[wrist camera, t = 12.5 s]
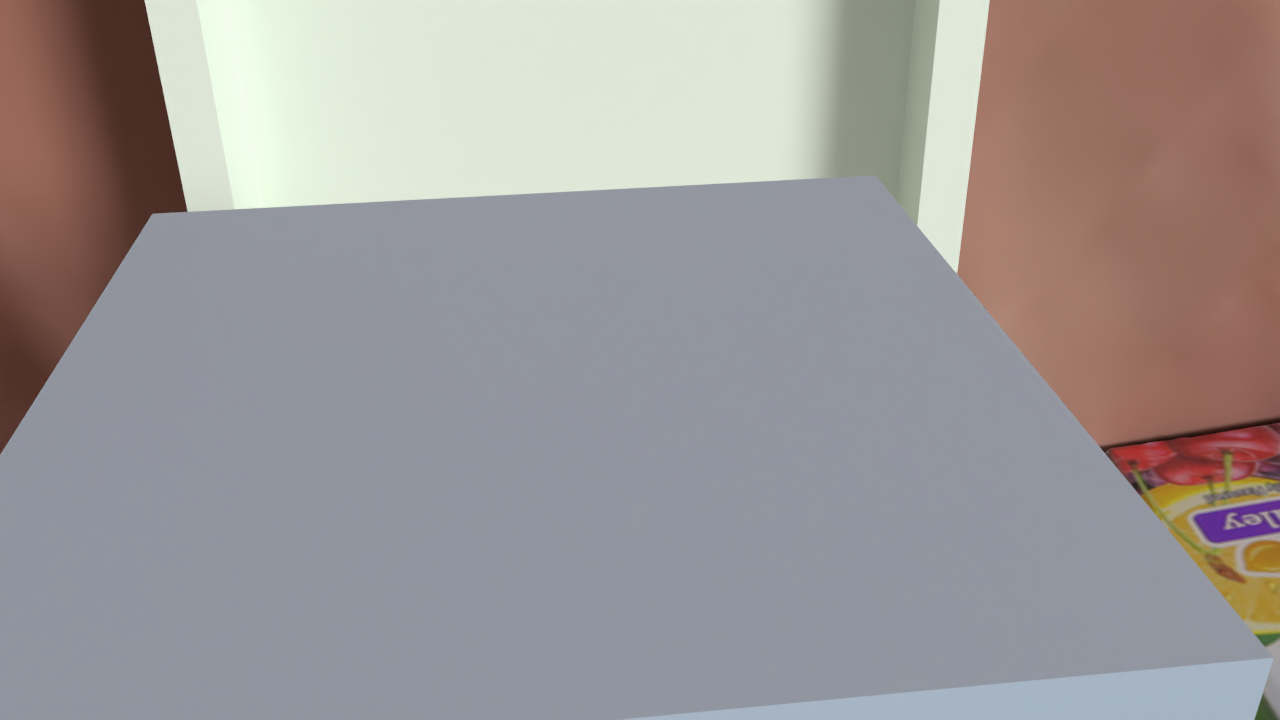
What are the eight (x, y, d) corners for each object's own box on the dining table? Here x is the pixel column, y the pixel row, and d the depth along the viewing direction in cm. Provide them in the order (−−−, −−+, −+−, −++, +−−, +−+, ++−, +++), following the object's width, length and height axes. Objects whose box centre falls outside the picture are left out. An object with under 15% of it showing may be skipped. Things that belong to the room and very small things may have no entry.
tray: (974, -255, 15) (1019, -251, 13) (902, 439, 20) (930, 504, 18) (151, -240, 15) (97, -234, 13) (279, 457, 19) (251, 524, 18)
